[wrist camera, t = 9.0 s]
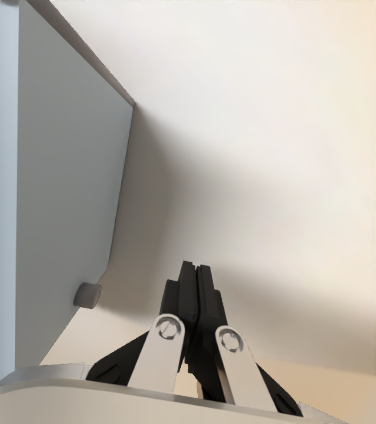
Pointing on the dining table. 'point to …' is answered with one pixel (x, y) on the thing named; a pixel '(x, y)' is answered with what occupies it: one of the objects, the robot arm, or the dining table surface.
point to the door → (53, 176)
